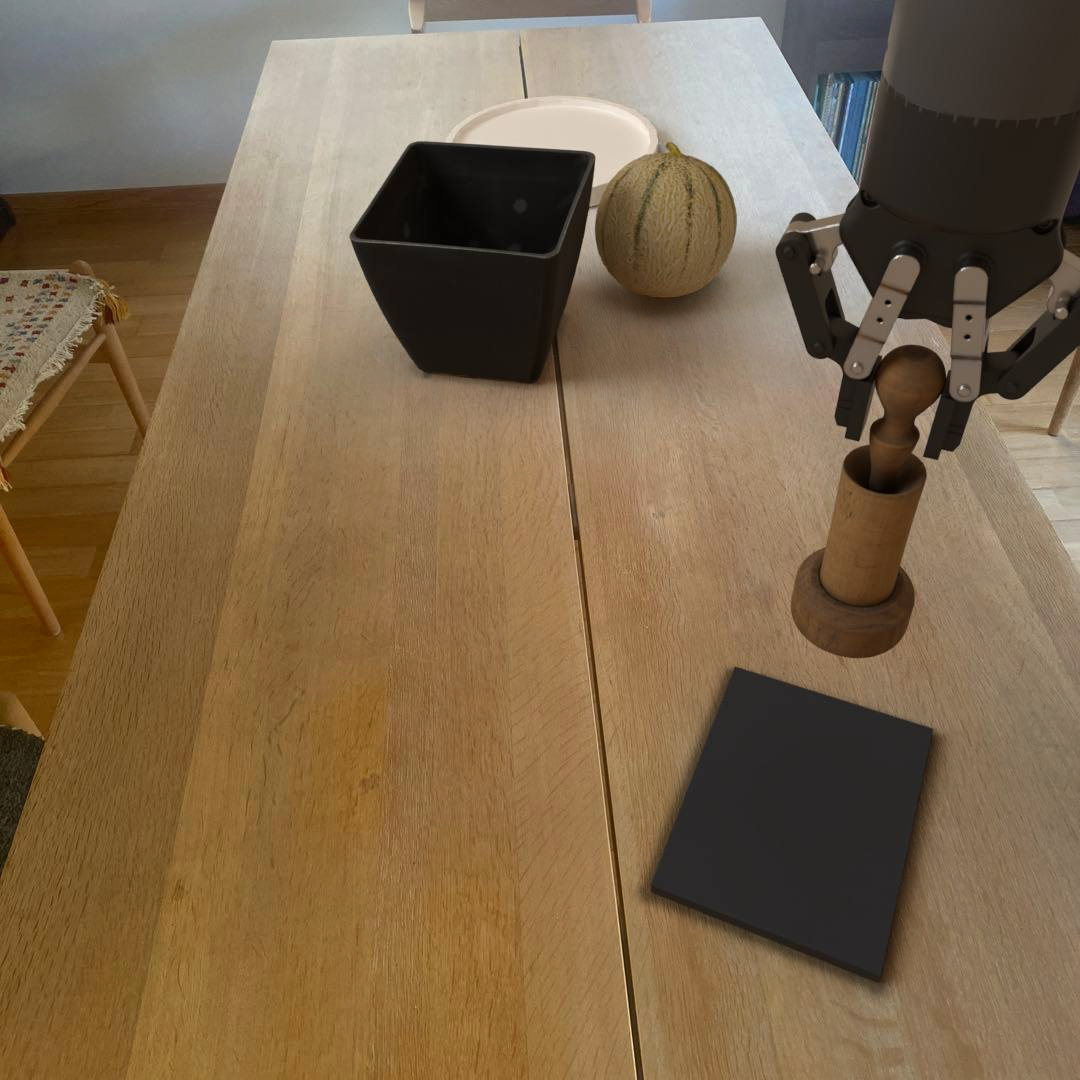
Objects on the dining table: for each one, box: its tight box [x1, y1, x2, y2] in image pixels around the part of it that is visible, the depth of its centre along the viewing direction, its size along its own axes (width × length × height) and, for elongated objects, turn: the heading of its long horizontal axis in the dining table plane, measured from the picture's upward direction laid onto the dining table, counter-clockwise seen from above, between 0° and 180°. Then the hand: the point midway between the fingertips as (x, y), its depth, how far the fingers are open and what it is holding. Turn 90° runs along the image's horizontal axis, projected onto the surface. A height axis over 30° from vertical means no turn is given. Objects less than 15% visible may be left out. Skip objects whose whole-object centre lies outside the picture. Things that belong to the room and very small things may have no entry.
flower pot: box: [348, 140, 595, 384], centre depth 97 cm, size 19×19×17 cm
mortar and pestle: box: [790, 344, 947, 659], centre depth 50 cm, size 7×6×18 cm
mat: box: [650, 666, 934, 983], centre depth 65 cm, size 14×18×1 cm
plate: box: [444, 95, 659, 208], centre depth 131 cm, size 28×28×2 cm
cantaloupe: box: [594, 141, 738, 298], centre depth 104 cm, size 15×15×15 cm
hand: (894, 437), depth 47 cm, fingers closed on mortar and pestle, 3 cm apart
